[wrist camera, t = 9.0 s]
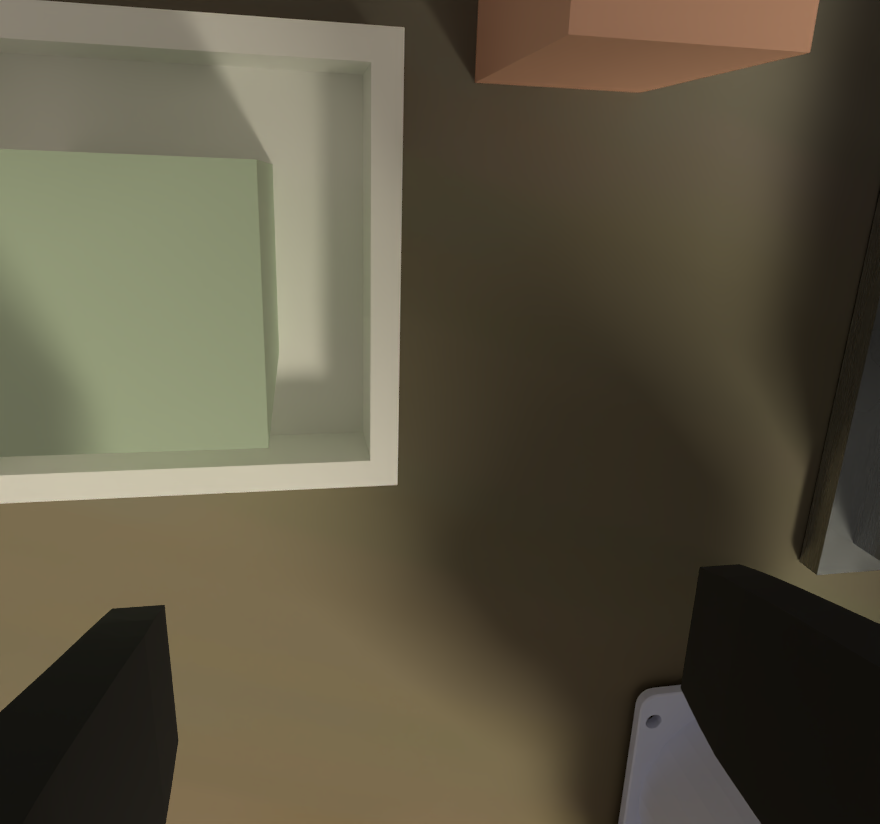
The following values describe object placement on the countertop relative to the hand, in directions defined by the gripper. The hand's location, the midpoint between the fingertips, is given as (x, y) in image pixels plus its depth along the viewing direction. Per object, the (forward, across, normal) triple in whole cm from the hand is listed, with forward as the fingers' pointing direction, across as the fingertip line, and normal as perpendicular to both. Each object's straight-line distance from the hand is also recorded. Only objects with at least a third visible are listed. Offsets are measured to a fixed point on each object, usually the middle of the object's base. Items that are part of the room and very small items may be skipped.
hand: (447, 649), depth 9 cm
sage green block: (+8, +4, -4) cm, 10 cm away
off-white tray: (+9, +4, -4) cm, 11 cm away
